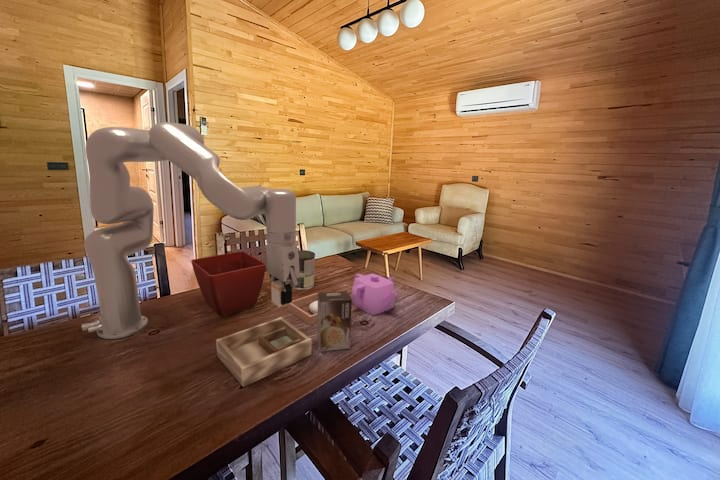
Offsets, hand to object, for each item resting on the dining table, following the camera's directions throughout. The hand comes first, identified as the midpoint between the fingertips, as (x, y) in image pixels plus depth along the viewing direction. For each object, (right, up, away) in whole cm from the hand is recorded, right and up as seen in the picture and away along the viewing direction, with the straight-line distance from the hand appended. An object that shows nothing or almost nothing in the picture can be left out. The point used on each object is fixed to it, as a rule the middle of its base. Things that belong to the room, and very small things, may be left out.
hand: (281, 299), depth 89 cm
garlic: (+7, -9, +27) cm, 30 cm away
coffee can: (-3, -3, +48) cm, 48 cm away
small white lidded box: (0, -1, 0) cm, 1 cm away
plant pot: (-25, -7, +27) cm, 38 cm away
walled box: (-5, -16, 0) cm, 16 cm away
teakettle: (+27, -9, +34) cm, 45 cm away
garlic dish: (+5, -9, +26) cm, 29 cm away
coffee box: (+14, -15, +7) cm, 22 cm away
